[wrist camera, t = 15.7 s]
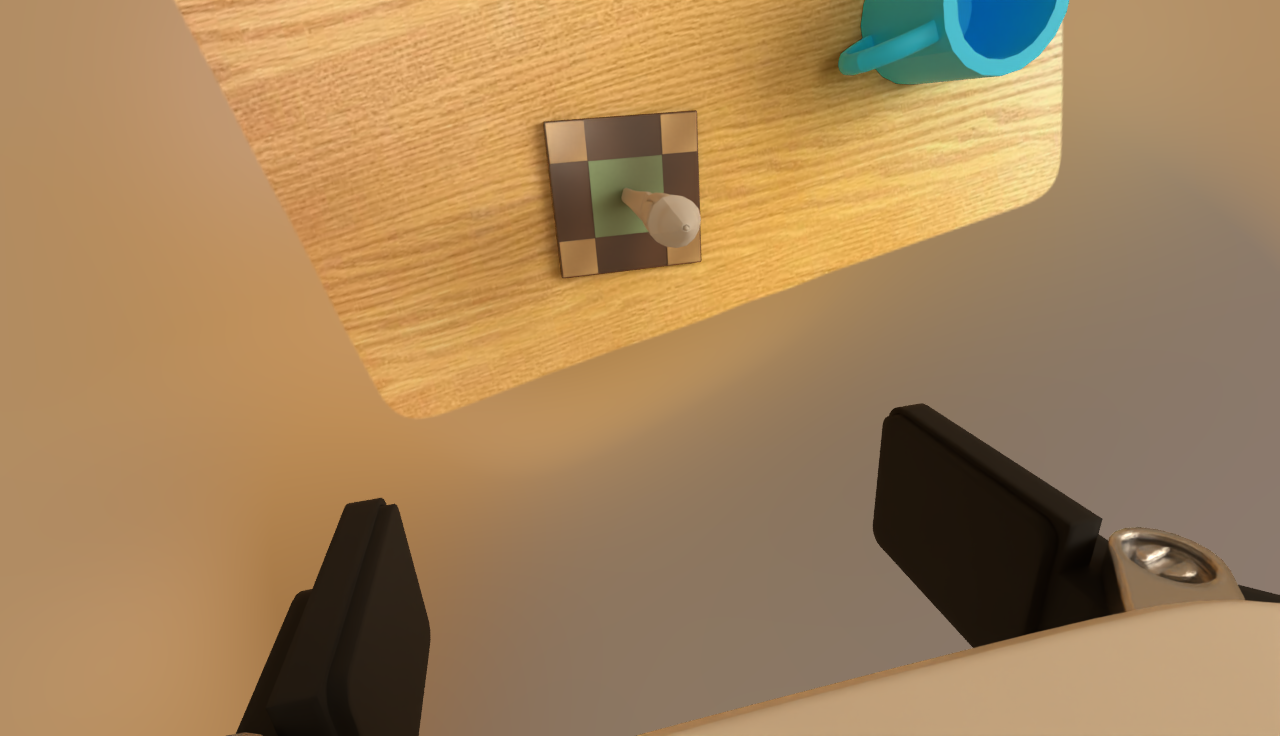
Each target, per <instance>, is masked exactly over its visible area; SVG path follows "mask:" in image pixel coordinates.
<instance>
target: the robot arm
mask: <svg viewBox="0 0 1280 736" xmlns="http://www.w3.org/2000/svg"><path fill="white" fill-rule="evenodd" d="M1101 522H1102V518H1100V517H1099V516H1097V515H1095V514H1094V513H1092V512H1091V511H1089V510H1088V509H1086V508H1084V507H1083V506H1081V505H1080V504H1079V503H1077V502H1075V501H1074V500H1072V499H1071V498H1069V497H1068V496H1066V495H1065V494H1063V493H1062V492H1060V491H1058V490H1057V489H1055V488H1054V487H1052V486H1051V485H1049V484H1048V483H1046V482H1045V481H1043V480H1042V479H1040V478H1038V477H1037V476H1035V475H1034V474H1032V473H1031V472H1029V471H1028V470H1026V469H1025V468H1023V467H1021V466H1020V465H1018V464H1017V463H1015V462H1014V461H1012V460H1011V459H1009V458H1008V457H1006V456H1004V455H1003V454H1001V453H1000V452H998V451H997V450H995V449H994V448H992V447H991V446H989V445H987V444H986V443H984V442H983V441H981V440H980V439H978V438H977V437H975V436H974V435H972V434H971V433H969V432H967V431H966V430H964V429H963V428H961V427H960V426H958V425H957V424H955V423H954V422H952V421H950V420H949V419H947V418H946V417H944V416H943V415H941V414H940V413H938V412H937V411H935V410H933V409H932V408H930V407H929V406H927V405H925V404H915V405H909V406H903V407H897V408H894V409H893V410H892V411H891V413H890V415H889V416H888V417H886V418H885V420H884V422H883V428H882V439H881V448H880V458H879V468H878V479H877V489H876V499H875V509H874V520H873V532H874V536H875V539H876V541H877V543H878V544H879V545H880V547H881V548H882V549H883V550H884V551H885V552H886V553H887V554H888V555H889V556H890V557H891V558H892V560H893V561H894V562H895V563H896V564H897V565H898V566H899V567H900V568H901V569H902V571H903V572H904V573H905V574H906V575H907V576H908V577H909V578H910V579H911V580H912V581H913V583H914V584H915V585H916V586H917V587H918V588H919V589H920V590H921V591H922V592H923V593H924V595H925V596H926V597H927V598H928V599H929V600H930V601H931V602H932V603H933V604H934V606H935V607H936V608H937V609H938V610H939V611H940V612H941V613H942V614H943V615H944V616H945V617H946V619H947V620H948V621H949V622H950V623H951V624H952V625H953V626H954V627H955V628H956V630H957V631H958V632H959V633H960V634H961V635H962V636H963V637H964V638H965V639H966V640H967V642H969V644H970V645H971V646H972V647H973V648H972V649H968V650H964V651H960V652H956V653H952V654H948V655H945V656H941V657H936V658H932V659H928V660H925V661H920V662H916V663H912V664H909V665H904V666H901V667H897V668H893V669H889V670H885V671H881V672H877V673H873V674H870V675H866V676H862V677H858V678H854V679H850V680H846V681H842V682H839V683H835V684H831V685H827V686H823V687H819V688H816V689H811V690H808V691H804V692H800V693H796V694H792V695H788V696H784V697H781V698H777V699H773V700H769V701H766V702H762V703H758V704H754V705H750V706H746V707H742V708H738V709H734V710H731V711H727V712H723V713H719V714H715V715H712V716H708V717H704V718H700V719H697V720H693V721H689V722H685V723H681V724H678V725H674V726H671V727H667V728H663V729H659V730H655V731H651V732H648V733H644V734H640V735H636V736H1280V595H1277V594H1272V593H1269V592H1265V591H1261V590H1257V589H1253V588H1249V587H1245V586H1241V585H1237V583H1236V580H1235V578H1234V577H1233V575H1232V573H1231V571H1230V569H1229V568H1228V567H1227V565H1226V564H1225V563H1224V562H1223V560H1222V559H1220V558H1219V557H1218V556H1217V555H1215V554H1214V553H1213V552H1211V551H1210V550H1209V549H1207V548H1205V547H1203V546H1201V545H1199V544H1197V543H1196V542H1194V541H1192V540H1189V539H1186V538H1184V537H1181V536H1179V535H1176V534H1173V533H1169V532H1165V531H1161V530H1157V529H1150V528H1141V527H1136V528H1124V529H1121V530H1118V531H1116V532H1114V533H1113V534H1112V535H1111V536H1110V538H1109V541H1108V540H1106V539H1105V538H1103V537H1102V536H1100V535H1099V534H1098V533H1099V530H1100V526H1101ZM429 648H430V627H429V620H428V617H427V613H426V609H425V605H424V602H423V598H422V594H421V590H420V587H419V583H418V579H417V575H416V572H415V569H414V565H413V561H412V557H411V553H410V550H409V546H408V542H407V538H406V534H405V531H404V527H403V523H402V520H401V516H400V512H399V509H398V507H397V505H395V504H391V505H386V502H385V501H384V499H382V498H378V499H372V500H366V501H360V502H354V503H349V504H347V505H346V506H345V508H344V510H343V513H342V515H341V518H340V520H339V523H338V526H337V528H336V531H335V533H334V536H333V538H332V541H331V543H330V546H329V548H328V551H327V553H326V556H325V558H324V561H323V564H322V566H321V569H320V571H319V574H318V576H317V579H316V581H315V584H314V586H313V589H310V590H305V591H301V592H299V593H298V594H297V595H296V596H295V598H294V600H293V601H292V603H291V606H290V608H289V611H288V613H287V615H286V617H285V620H284V622H283V625H282V627H281V629H280V631H279V634H278V636H277V639H276V641H275V643H274V646H273V648H272V650H271V653H270V655H269V657H268V660H267V662H266V664H265V667H264V669H263V671H262V674H261V676H260V678H259V681H258V683H257V685H256V688H255V691H254V692H253V695H252V697H251V700H250V702H249V704H248V707H247V709H246V711H245V713H244V716H243V718H242V721H241V723H240V725H239V728H238V730H237V732H236V734H234V735H227V736H419V728H420V719H421V712H422V704H423V696H424V688H425V680H426V671H427V664H428V656H429Z"/></svg>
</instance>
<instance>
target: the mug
mask: <svg viewBox="0 0 1280 736" xmlns="http://www.w3.org/2000/svg"><path fill="white" fill-rule="evenodd" d="M1068 4H1069V0H865V2H864V6H863V13H862V21H861V31H862V39H861V40H859V41H858V42H856V43H855V44H853V45H852V46H850V47H849V48H847V49H846V50H845V51H844V52H843V53H841V55H840V57H839V61H838V67H839V70H840V72H841V73H842V74H844V75H856V74H860V73H864V72H867V71H870V70H873V69H876V70H877V71H878V72H879V74H880V75H881V76H882V77H884V78H886V79H888V80H890V81H892V82H894V83H897V84H922V83H933V82H943V81H953V80H964V79H974V78H984V77H995V76H1003V75H1005V74H1008V73H1011V72H1014V71H1017V70H1020V69H1022V68H1023V67H1024V66H1026V65H1027V64H1028V63H1030V62H1031V61H1032V60H1034V59H1035V58H1036V57H1038V56H1039V55H1040V54H1041V53H1042V51H1043V50H1044V49H1045V48H1046V46H1047V45H1048V44H1049V43H1050V41H1051V40H1052V39H1053V38H1054V36H1055V35H1056V33H1057V31H1058V29H1059V26H1060V24H1061V22H1062V20H1063V18H1064V16H1065V14H1066V12H1067V8H1068Z"/></svg>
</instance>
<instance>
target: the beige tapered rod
mask: <svg viewBox="0 0 1280 736" xmlns="http://www.w3.org/2000/svg"><path fill="white" fill-rule="evenodd" d="M621 198H622V201H623V202H624V203H625V204H626V205H628V206H629V207H630V208H631V209H632V210H633V212H634V213H635V214H636V215H637V216H638V217H639V218H640V219H641V220H642V221H643V223H644V225H645V227H646V229H647V230H648V232H649V233H650V235H651V236H652V237H653V238H654V239H655V241H656V242H658V243H660V244H662V245H664V246H666V247H673V248H679V247H683V246H687V245H688V244H689V243H690V242H691V241H692V240H694V239H695V237H696V235H697V233H698V231H699V228H700V221H701V217H700V213H699V209H698V208H697V206H696V205H695V204H694V203H693V202H692V201H691V200H689V199H687V198H685V197H683V196H678V195H669V194H665V193H650V192H642V191H634V190H631V189H628V188H624V189H623V193H622V197H621Z"/></svg>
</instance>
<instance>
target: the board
mask: <svg viewBox="0 0 1280 736" xmlns="http://www.w3.org/2000/svg"><path fill="white" fill-rule="evenodd" d="M543 128H544V136H545V144H546V153H547V161H548V169H549V178H550V186H551V194H552V202H553V211H554V219H555V227H556V235H557V244H558V252H559V260H560V269H561V276H562V278H571V277H579V276H587V275H596V274H604V273H612V272H621V271H629V270H637V269H646V268H654V267H662V266H671V265H679V264H687V263H696V262H701V234H700V228H699V231H698V233H697V235H696V237H695V239H694V240H692V241H691V242H690V243H689V244H688V245H687V246H683V247H679V248H673V247H666V246H664V245H662V244H660V243H658V242H656V241H655V239H654V238H653V237H652V236H651V235H650V233H649V232H648V230H647V229H646V227H645V225H644V223H643V221H642V220H641V219H640V218H639V217H638V216H637V215H636V214H635V213H634V212H633V210H632V209H631V208H630V207H629V206H628V205H626V204H625V203H624V202H623V201H622V198H621V197H622V193H623V189H624V188H628V189H631V190H634V191H642V192H650V193H665V194H669V195H678V196H683V197H685V198H687V199H689V200H691V201H692V202H693V203H694V204H695V205H696V206H697V208H698V209H699V213H700V200H699V166H698V131H697V111H696V110H695V111H681V112H668V113H654V114H641V115H627V116H614V117H600V118H586V119H573V120H559V121H546V122H543Z"/></svg>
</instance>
